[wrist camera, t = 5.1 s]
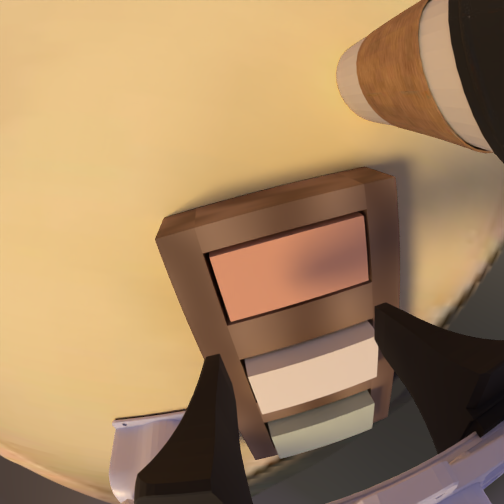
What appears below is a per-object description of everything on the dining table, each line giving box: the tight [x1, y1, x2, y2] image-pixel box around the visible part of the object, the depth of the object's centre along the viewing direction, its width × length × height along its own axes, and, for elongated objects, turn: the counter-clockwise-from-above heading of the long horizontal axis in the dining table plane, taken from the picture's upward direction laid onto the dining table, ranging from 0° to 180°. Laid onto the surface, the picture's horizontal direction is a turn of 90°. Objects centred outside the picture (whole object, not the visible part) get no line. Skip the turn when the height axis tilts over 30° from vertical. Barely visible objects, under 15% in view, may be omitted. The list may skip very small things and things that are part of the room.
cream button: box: [245, 320, 378, 414], centre depth 22 cm, size 9×4×4 cm, turn 103°
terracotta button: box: [209, 212, 368, 322], centre depth 20 cm, size 9×4×4 cm, turn 103°
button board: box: [155, 167, 400, 460], centre depth 23 cm, size 14×24×4 cm, turn 13°
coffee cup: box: [336, 0, 504, 163], centre depth 11 cm, size 8×8×15 cm
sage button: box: [268, 390, 375, 459], centre depth 25 cm, size 9×4×4 cm, turn 103°
